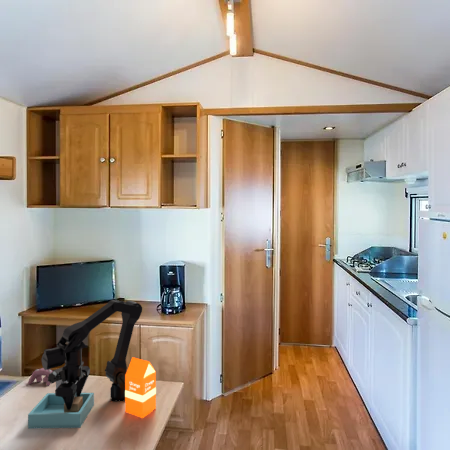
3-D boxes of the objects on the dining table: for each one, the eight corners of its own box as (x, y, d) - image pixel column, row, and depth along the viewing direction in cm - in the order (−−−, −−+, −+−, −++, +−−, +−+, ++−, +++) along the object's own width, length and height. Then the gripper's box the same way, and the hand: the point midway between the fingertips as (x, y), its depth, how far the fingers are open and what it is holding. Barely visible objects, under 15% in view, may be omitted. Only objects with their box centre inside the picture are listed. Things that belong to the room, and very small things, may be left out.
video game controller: (53, 385, 162) (57, 369, 165) (47, 385, 158) (51, 368, 161) (32, 384, 163) (36, 368, 166) (26, 384, 159) (30, 367, 162)
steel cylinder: (70, 390, 155) (70, 374, 154) (66, 396, 150) (66, 379, 149) (58, 390, 154) (58, 374, 154) (53, 396, 149) (53, 380, 149)
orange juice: (142, 418, 134) (142, 365, 133) (124, 412, 138) (124, 360, 138) (156, 408, 141) (156, 357, 140) (138, 402, 145) (138, 353, 144)
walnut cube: (82, 409, 138) (82, 396, 138) (77, 417, 133) (77, 403, 133) (69, 409, 138) (69, 396, 138) (64, 417, 133) (63, 403, 133)
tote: (93, 405, 143) (93, 392, 143) (80, 427, 128) (80, 413, 128) (47, 405, 142) (47, 393, 142) (28, 428, 127) (28, 414, 127)
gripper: (61, 352, 144) (62, 390, 144) (39, 372, 125) (40, 417, 126) (90, 351, 144) (90, 390, 145) (72, 372, 126) (72, 416, 126)
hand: (73, 402), depth 135 cm, fingers open, 9 cm apart
